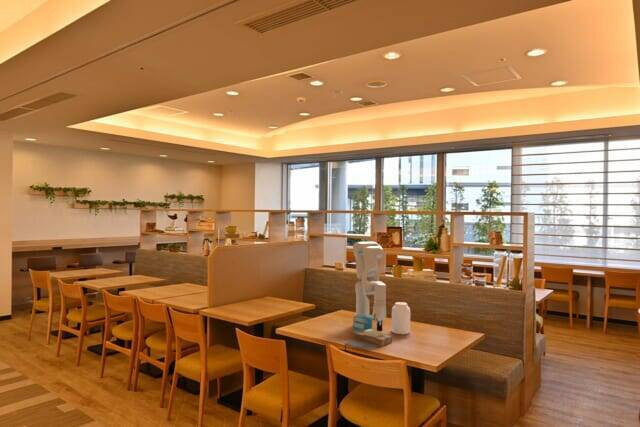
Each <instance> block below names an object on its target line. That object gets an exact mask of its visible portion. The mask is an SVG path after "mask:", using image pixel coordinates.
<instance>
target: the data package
mask: <svg viewBox="0 0 640 427" xmlns="http://www.w3.org/2000/svg"><path fill="white" fill-rule="evenodd" d="M352 322H353V326H352V328H353V331H352V332H353V334H355V333H358V332H361V331H364V330H367V329H372V330H373V320H372V316H371V315H369V316H364V315H356V314H355V315H354V316H353V321H352Z"/></svg>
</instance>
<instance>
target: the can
mask: <svg viewBox="0 0 640 427" xmlns="http://www.w3.org/2000/svg"><path fill="white" fill-rule="evenodd" d="M390 329H391V332H392V333H393V334H397V335H408V334H410V333H411V308H410V306H408V303H407V302H405V301H397V302H395V303H394V305H393V306H392V308H391V328H390Z"/></svg>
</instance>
